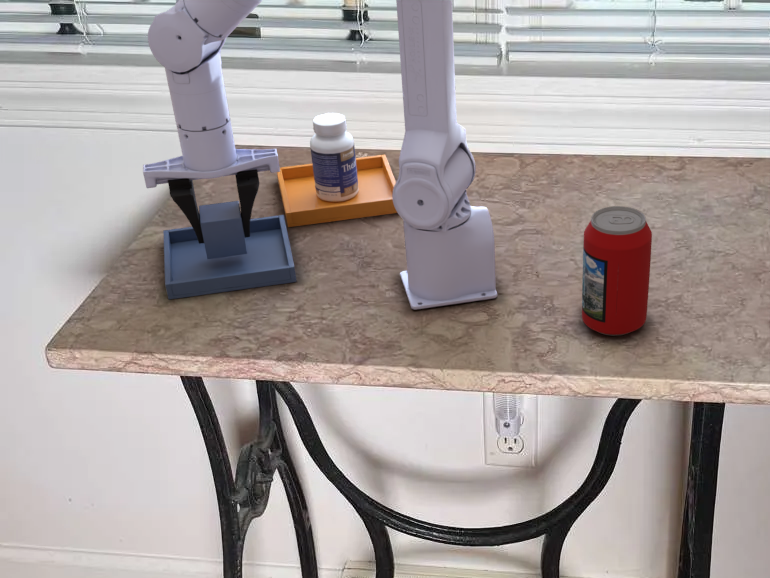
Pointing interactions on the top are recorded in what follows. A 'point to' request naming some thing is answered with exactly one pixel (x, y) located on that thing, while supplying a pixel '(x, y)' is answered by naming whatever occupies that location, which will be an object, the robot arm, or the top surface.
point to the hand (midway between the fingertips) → (224, 236)
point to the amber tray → (311, 209)
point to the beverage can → (616, 270)
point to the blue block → (222, 229)
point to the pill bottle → (333, 158)
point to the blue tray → (228, 261)
